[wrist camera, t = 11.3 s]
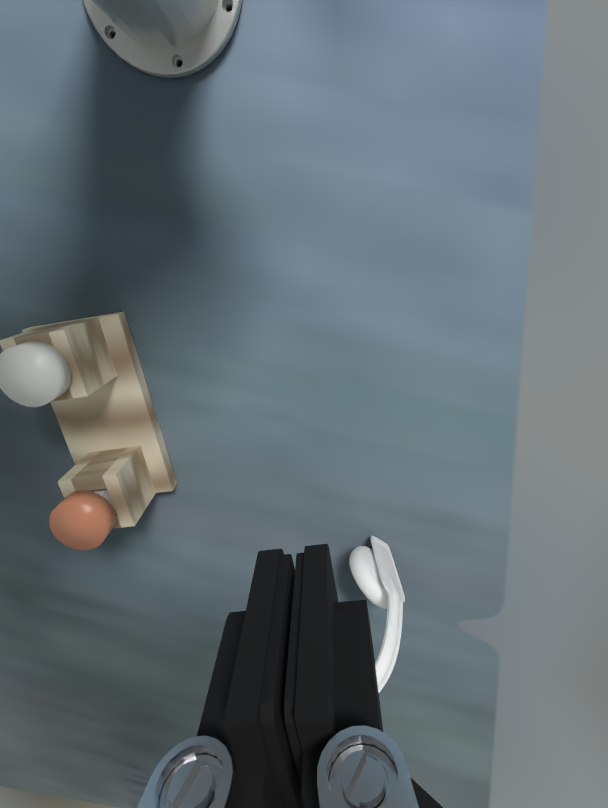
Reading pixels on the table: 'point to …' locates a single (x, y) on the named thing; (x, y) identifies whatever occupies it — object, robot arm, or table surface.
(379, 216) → the table surface
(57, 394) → the plug
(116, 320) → the block
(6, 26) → the table surface
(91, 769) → the table surface
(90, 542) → the terracotta plug
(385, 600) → the headset
